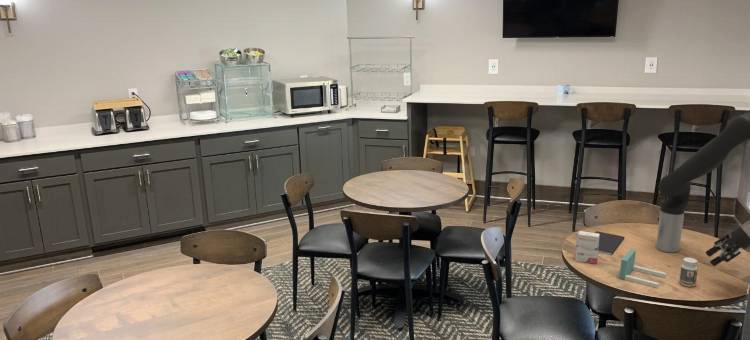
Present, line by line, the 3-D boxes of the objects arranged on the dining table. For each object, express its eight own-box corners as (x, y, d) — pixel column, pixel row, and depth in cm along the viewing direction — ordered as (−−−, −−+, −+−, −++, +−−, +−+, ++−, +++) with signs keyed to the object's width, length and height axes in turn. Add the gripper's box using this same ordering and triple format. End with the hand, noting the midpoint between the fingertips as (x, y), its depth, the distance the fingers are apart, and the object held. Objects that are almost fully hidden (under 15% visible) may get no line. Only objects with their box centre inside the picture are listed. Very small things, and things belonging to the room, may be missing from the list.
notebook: (611, 256, 254) (624, 239, 270) (612, 253, 253) (624, 236, 270) (581, 249, 261) (595, 233, 278) (581, 246, 260) (595, 230, 277)
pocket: (665, 276, 234) (668, 257, 232) (657, 288, 225) (660, 268, 223) (628, 267, 242) (630, 249, 240) (619, 278, 233) (621, 259, 231)
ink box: (597, 259, 250) (600, 233, 247) (596, 264, 246) (599, 237, 242) (576, 256, 254) (578, 230, 250) (574, 260, 249) (576, 234, 246)
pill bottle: (697, 287, 225) (701, 263, 222) (681, 286, 226) (684, 262, 223) (693, 280, 230) (696, 257, 227) (677, 279, 231) (680, 256, 228)
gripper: (736, 219, 223) (698, 244, 229) (746, 233, 210) (706, 259, 216) (750, 234, 223) (712, 258, 229) (761, 249, 210) (720, 274, 216)
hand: (709, 259), depth 223 cm, fingers open, 8 cm apart
